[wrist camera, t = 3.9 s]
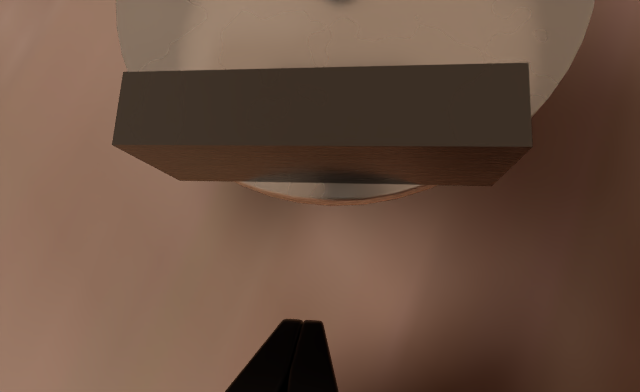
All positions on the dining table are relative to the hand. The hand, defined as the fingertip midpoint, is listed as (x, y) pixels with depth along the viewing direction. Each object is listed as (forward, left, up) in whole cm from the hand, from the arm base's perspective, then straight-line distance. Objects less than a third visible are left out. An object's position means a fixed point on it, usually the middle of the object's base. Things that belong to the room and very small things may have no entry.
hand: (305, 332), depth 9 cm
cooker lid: (+10, 0, -2) cm, 10 cm away
